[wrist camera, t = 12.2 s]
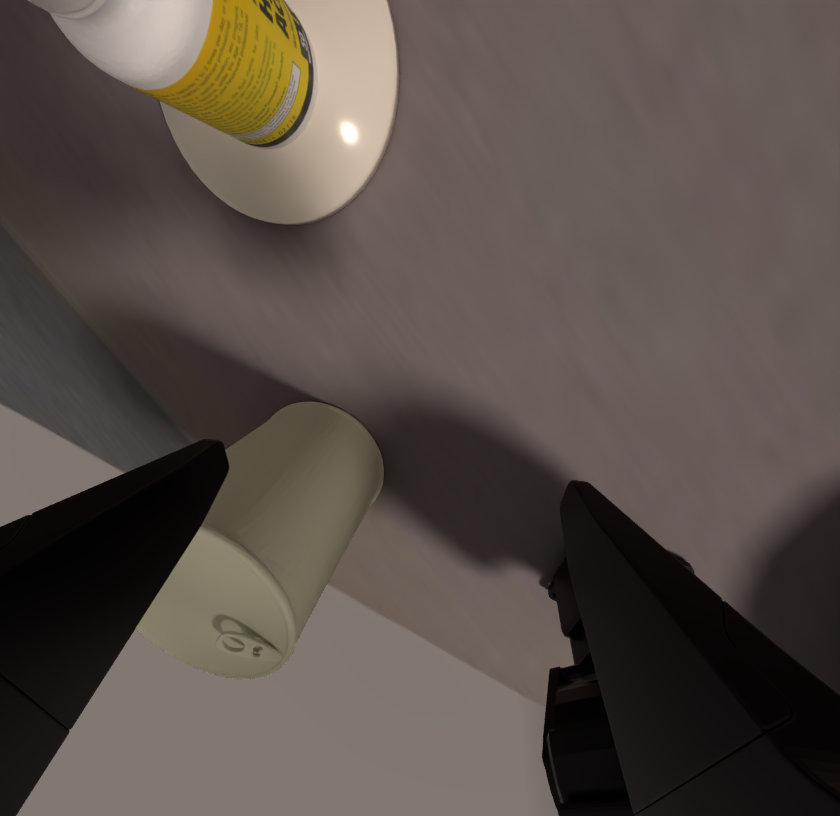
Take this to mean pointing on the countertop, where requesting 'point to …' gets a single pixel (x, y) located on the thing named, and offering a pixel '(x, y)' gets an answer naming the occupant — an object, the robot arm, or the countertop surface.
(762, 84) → the countertop surface
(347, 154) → the coaster
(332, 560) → the can
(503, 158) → the countertop surface
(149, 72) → the supplement bottle
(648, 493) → the countertop surface
